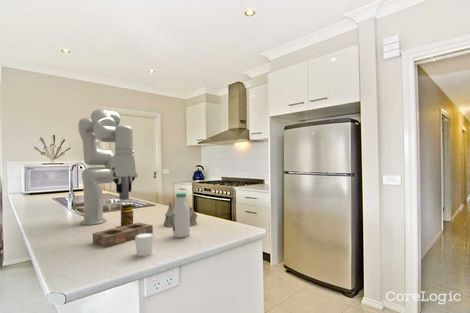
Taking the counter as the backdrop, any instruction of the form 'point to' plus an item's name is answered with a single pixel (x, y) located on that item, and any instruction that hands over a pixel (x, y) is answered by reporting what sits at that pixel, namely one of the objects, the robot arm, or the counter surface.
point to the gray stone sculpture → (169, 216)
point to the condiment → (126, 215)
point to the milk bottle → (181, 217)
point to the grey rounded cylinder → (124, 188)
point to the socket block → (121, 234)
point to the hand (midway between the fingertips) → (124, 191)
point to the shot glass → (144, 244)
